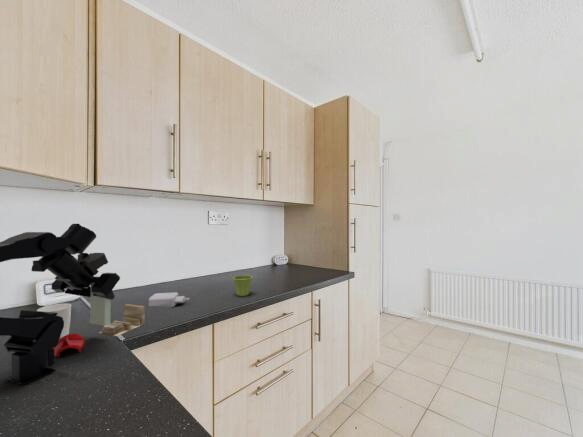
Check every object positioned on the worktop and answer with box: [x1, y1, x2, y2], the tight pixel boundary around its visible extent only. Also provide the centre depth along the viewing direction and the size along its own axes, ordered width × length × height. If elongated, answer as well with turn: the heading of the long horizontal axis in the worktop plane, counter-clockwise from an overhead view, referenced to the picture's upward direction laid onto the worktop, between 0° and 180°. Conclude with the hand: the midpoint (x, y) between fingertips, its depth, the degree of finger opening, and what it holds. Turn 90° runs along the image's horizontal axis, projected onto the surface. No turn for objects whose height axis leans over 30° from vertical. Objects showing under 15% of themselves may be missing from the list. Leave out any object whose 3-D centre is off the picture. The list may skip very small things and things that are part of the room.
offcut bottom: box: [101, 326, 125, 336], centre depth 84 cm, size 4×5×1 cm
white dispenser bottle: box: [148, 291, 190, 308], centre depth 114 cm, size 5×9×15 cm
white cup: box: [36, 303, 72, 339], centre depth 81 cm, size 8×8×10 cm
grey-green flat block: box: [89, 275, 112, 326], centre depth 79 cm, size 2×6×14 cm, turn 72°
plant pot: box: [232, 274, 253, 297], centre depth 130 cm, size 9×9×9 cm
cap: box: [53, 333, 86, 358], centre depth 71 cm, size 8×6×6 cm
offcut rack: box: [98, 303, 146, 337], centre depth 87 cm, size 10×8×7 cm
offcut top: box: [102, 321, 123, 331], centre depth 84 cm, size 3×4×1 cm
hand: (104, 297), depth 80 cm, fingers closed on grey-green flat block, 6 cm apart
